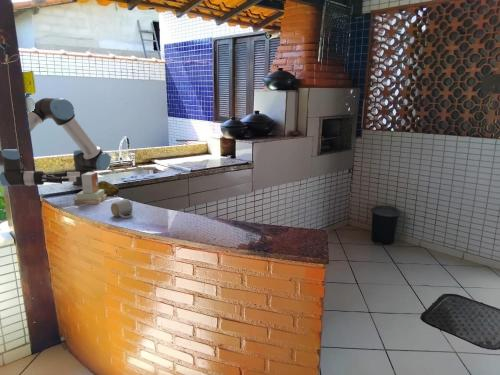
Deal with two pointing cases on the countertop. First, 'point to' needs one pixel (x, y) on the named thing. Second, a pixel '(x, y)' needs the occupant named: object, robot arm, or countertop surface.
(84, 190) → the small box
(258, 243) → the countertop surface
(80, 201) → the birch base slab
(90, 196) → the sage top slab
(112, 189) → the potato
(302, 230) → the countertop surface
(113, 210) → the ceramic mug
